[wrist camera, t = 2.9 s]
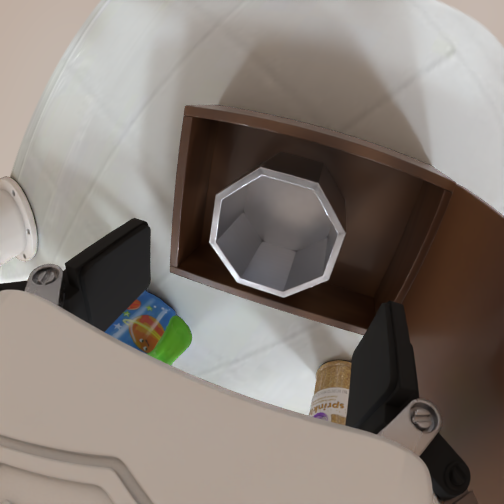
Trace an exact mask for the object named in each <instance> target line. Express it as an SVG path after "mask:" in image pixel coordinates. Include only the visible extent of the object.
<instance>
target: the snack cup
mask: <svg viewBox="0 0 504 504" xmlns="http://www.w3.org/2000/svg"><path fill="white" fill-rule="evenodd" d="M105 333H107V334H108V335H110V336H112V337H114V338H116V339H118V340H120V341H121V342H123V343H125V344H127V345H129V346H131V347H133V348H135V349H137V350H139V351H141V352H143V353H145V354H147V355H149V356H151V357H153V358H155V359H158V360H160V361H162V362H164V363H166V364H168V365H172V363H173V362H174V361H175V360H176V359H177V358H178V357H179V356H180V355H181V354H182V353H183V352H184V351H185V350H186V349H187V348H188V347H189V345H190V344H191V341H192V334H191V331H190V329H189V327H188V325H186V323H185V322H184V321H183V320H182V319H181V318H180V317H179V316H176V312H175V311H174V310H173V309H172V308H171V307H169V306H168V305H167V304H166V303H165V302H163V301H162V300H161V299H160V298H158V297H157V296H155V295H153V294H150V293H148V292H147V291H146V290H145V291H144V292H143V293H142V294H141V295H140V296H139V297H138V298H137V299H136V300H135V301H134V302H133V303H132V304H131V305H130V306H129V307H128V308H127V309H126V310H125V311H124V312H123V313H122V314H121V315H120V316H119V317H118V318H117V320H116V321H115V322H114V323H113V324H112V325H111V326H110V327H109V328H108V329H107V330H106V331H105Z"/></svg>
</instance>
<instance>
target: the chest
mask: <svg viewBox="0 0 504 504" xmlns="http://www.w3.org/2000/svg"><path fill="white" fill-rule="evenodd" d="M184 115H185V116H184V117H183V124H182V131H181V139H180V147H179V155H178V164H177V174H176V184H175V195H174V207H173V220H172V235H171V254H170V272H171V273H174V274H176V275H179V276H182V277H185V278H187V279H190V280H193V281H196V282H199V283H201V284H204V285H207V286H210V287H213V288H216V289H218V290H221V291H224V292H227V293H230V294H233V295H236V296H239V297H242V298H245V299H248V300H251V301H254V302H257V303H260V304H263V305H266V306H269V307H272V308H275V309H278V310H282V311H285V312H288V313H291V314H294V315H297V316H301V317H304V318H307V319H310V320H314V321H317V322H320V323H324V324H327V325H330V326H334V327H337V328H341V329H344V330H347V331H351V332H354V333H358V334H361V335H364V334H365V333H366V331H367V329H368V328H369V326H370V324H371V322H372V321H373V319H374V317H375V315H376V313H377V312H378V310H379V308H380V306H381V304H382V303H387V302H388V301H393V302H396V303H400V304H401V303H402V301H403V300H404V298H405V296H406V294H407V292H408V290H409V289H410V287H411V285H412V283H413V281H414V279H415V277H416V275H417V273H418V271H419V269H420V267H421V265H422V263H423V261H424V259H425V257H426V255H427V253H428V251H429V249H430V246H431V244H432V242H433V240H434V238H435V235H436V233H437V231H438V228H439V226H440V224H441V221H442V219H443V216H444V214H445V211H446V209H447V206H448V204H449V201H450V199H451V196H452V193H453V190H454V188H455V185H456V182H455V181H453V180H452V179H450V178H449V177H448V176H446V175H445V174H443V173H442V172H440V171H439V170H437V169H436V168H434V167H433V166H431V165H428V164H426V163H423V162H421V161H419V160H416V159H414V158H411V157H409V156H406V155H404V154H401V153H399V152H396V151H393V150H391V149H388V148H385V147H382V146H380V145H377V144H374V143H371V142H368V141H365V140H362V139H359V138H356V137H353V136H350V135H346V134H343V133H340V132H336V131H333V130H330V129H326V128H323V127H319V126H315V125H312V124H308V123H304V122H300V121H296V120H292V119H288V118H283V117H279V116H274V115H270V114H265V113H260V112H255V111H250V110H245V109H239V108H233V107H228V106H221V105H186V106H185V110H184ZM280 152H285V153H289V154H292V155H296V156H300V157H303V158H307V159H310V160H314V161H317V162H321V163H324V164H325V166H326V168H327V169H328V171H329V173H330V175H331V176H332V178H333V180H334V182H335V183H336V185H337V187H338V189H339V191H340V193H341V194H342V196H343V198H344V200H345V210H346V235H345V238H344V241H343V244H342V246H341V249H340V252H339V255H338V257H337V260H336V262H335V265H334V268H333V270H332V273H331V275H330V278H329V280H327V281H325V282H322V283H320V284H317V285H315V286H312V287H310V288H307V289H305V290H302V291H300V292H297V293H295V294H292V295H289V296H287V297H284V298H283V297H280V296H277V295H274V294H271V293H268V292H265V291H262V290H259V289H256V288H253V287H250V286H246V285H243V284H240V283H237V282H236V280H235V279H234V277H233V276H232V275H231V273H230V272H229V270H228V269H227V267H226V266H225V265H224V263H223V262H222V260H221V259H220V257H219V256H218V255H217V253H216V252H215V250H214V249H213V247H212V246H211V244H210V243H209V240H210V232H211V225H212V218H213V210H214V204H215V197H216V194H217V193H219V192H220V191H221V190H223V189H224V188H226V187H227V186H228V185H230V184H231V183H233V182H234V181H235V180H237V179H238V178H240V177H241V176H242V175H244V174H245V173H247V172H249V171H250V170H252V169H253V168H255V167H257V166H258V165H260V164H262V163H263V162H265V161H267V160H268V159H270V158H272V157H273V156H275V155H277V154H278V153H280Z"/></svg>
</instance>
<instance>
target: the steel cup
mask: <svg viewBox="0 0 504 504" xmlns="http://www.w3.org/2000/svg"><path fill="white" fill-rule="evenodd" d="M345 235H346V210H345V200H344V198H343V196H342V194H341V193H340V191H339V189H338V187H337V185H336V183H335V182H334V180H333V178H332V176H331V175H330V173H329V171H328V169H327V168H326V166H325V164H324V163H321V162H317V161H314V160H310V159H307V158H303V157H300V156H296V155H292V154H289V153H285V152H280V153H278V154H277V155H275V156H273V157H272V158H270V159H268V160H267V161H265V162H263V163H262V164H260V165H258V166H257V167H255V168H253V169H252V170H250V171H249V172H247V173H245V174H244V175H242V176H241V177H240V178H238V179H237V180H235V181H234V182H233V183H231V184H230V185H228V186H227V187H226V188H224V189H223V190H221V191H220V192H219V193H217V194H216V197H215V204H214V210H213V218H212V225H211V232H210V240H209V243H210V244H211V246H212V247H213V249H214V250H215V252H216V253H217V255H218V256H219V257H220V259H221V260H222V262H223V263H224V265H225V266H226V267H227V269H228V270H229V272H230V273H231V275H232V276H233V277H234V279H235V280H236V282H237V283H240V284H243V285H246V286H250V287H253V288H256V289H259V290H262V291H265V292H268V293H271V294H274V295H277V296H280V297H283V298H284V297H287V296H289V295H292V294H295V293H297V292H300V291H302V290H305V289H307V288H310V287H312V286H315V285H317V284H320V283H322V282H325V281H327V280H329V278H330V275H331V273H332V270H333V268H334V265H335V262H336V260H337V257H338V255H339V252H340V249H341V246H342V244H343V241H344V238H345Z"/></svg>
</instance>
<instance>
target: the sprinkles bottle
mask: <svg viewBox="0 0 504 504" xmlns="http://www.w3.org/2000/svg"><path fill="white" fill-rule="evenodd" d="M350 375H351V363H350V362H347V361H341V360H336V361H331V362H327V363H325V364H323V365H322V366H321V367H320V368H319V369H318V371H317V373H316V385H315V391H314V396H313V398H312V402H311V408H310V413H309V416H311V417H315V418H318V419H322V420H326V421H329V422H333V423H337V424H341V425H345V423H346V415H347V406H348V397H349V386H350Z"/></svg>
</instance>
